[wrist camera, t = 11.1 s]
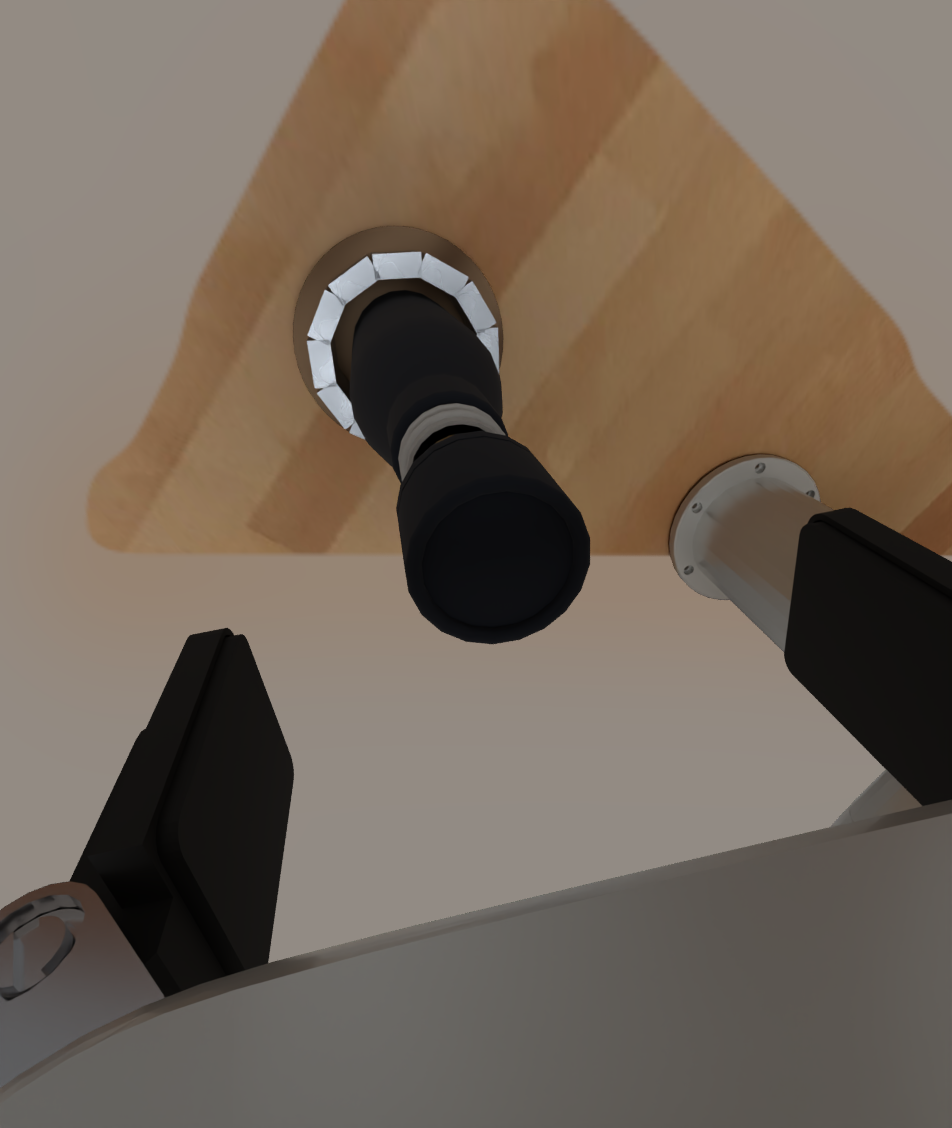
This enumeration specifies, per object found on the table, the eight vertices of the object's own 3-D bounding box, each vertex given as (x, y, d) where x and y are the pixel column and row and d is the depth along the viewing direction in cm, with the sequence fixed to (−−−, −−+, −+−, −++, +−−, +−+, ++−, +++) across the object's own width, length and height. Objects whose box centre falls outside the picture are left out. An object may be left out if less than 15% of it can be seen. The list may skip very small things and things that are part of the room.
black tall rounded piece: (458, 293, 38) (683, 413, 12) (453, 399, 41) (622, 687, 14) (351, 286, 37) (332, 402, 10) (353, 395, 40) (342, 701, 13)
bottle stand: (533, 292, 40) (562, 301, 34) (445, 468, 44) (458, 502, 39) (342, 181, 35) (339, 170, 30) (265, 389, 40) (250, 414, 34)
